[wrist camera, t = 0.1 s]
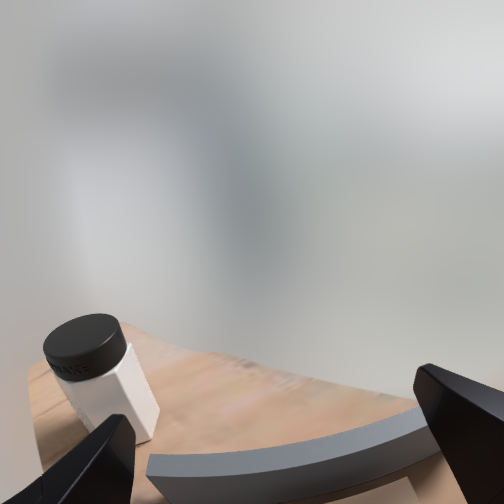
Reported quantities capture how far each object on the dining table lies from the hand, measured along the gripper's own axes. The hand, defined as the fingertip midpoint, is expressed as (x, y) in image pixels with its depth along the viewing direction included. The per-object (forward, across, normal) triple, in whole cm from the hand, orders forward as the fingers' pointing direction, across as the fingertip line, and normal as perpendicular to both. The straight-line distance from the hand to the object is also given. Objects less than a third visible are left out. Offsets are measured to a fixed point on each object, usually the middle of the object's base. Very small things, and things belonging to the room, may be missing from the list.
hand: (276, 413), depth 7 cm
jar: (+15, +16, +17) cm, 27 cm away
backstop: (+5, -3, +16) cm, 18 cm away
